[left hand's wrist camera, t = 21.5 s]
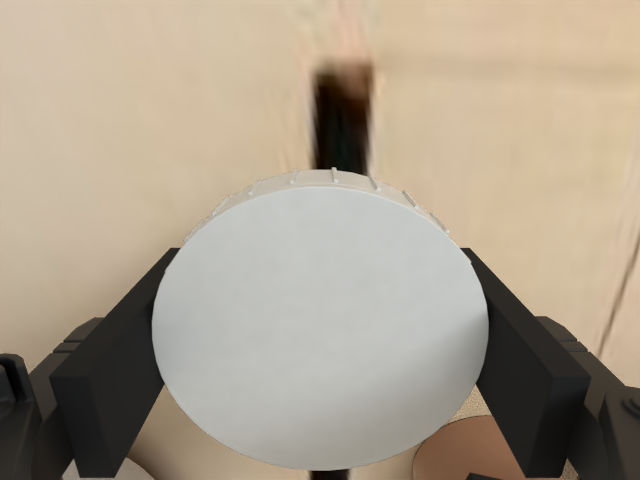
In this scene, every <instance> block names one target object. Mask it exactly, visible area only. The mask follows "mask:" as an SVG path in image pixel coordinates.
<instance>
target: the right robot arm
mask: <svg viewBox="0 0 640 480" xmlns="http://www.w3.org/2000/svg"><path fill="white" fill-rule="evenodd" d="M465 480H502V479H498V478H494V477H489V476H485V475H480V474H476V473H471V472H470V473H469V475H468V476H467V478H466V479H465Z"/></svg>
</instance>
